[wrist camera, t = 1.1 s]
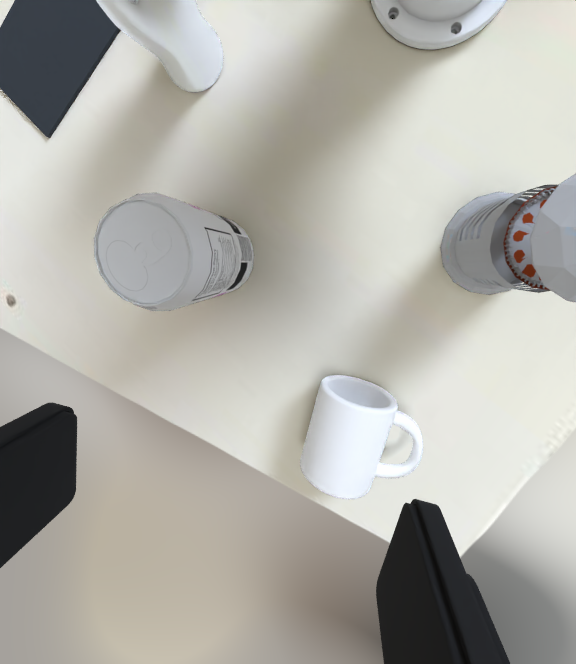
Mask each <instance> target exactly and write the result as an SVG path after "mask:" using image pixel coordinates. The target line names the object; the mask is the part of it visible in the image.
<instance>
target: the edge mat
mask: <svg viewBox="0 0 576 664" xmlns="http://www.w3.org/2000/svg"><path fill="white" fill-rule="evenodd" d="M119 31H120V29H119V28H118V27H116V26H115V25H114V24H113V23H112V22H111V21H110V20H109V19H108V18H107V17H106V16H105V15H104V14H103V13H102V12H101V11H100V10H99V9H98V8H97V7H96V6H95V5H94V4H93V3H92V2H91V1H90V0H15V1H14V3H13V5H12V7H11V9H10V11H9V12H8V14H7V16H6V18H5V20H4V22H3V23H2V25H1V27H0V88H1V89H2V91H3V92H4V93H5V94H6V95H7V96H8V97H9V98H10V99H11V100H12V101H13V102H14V103H15V104H16V105H17V106H18V107H19V108H20V109H21V110H22V111H23V113H24V114H25V115H26V116H27V117H28V118H29V119H30V120H31V121H32V122H33V123H34V124H35V125H36V126H37V127H38V128H39V129H40V130H41V131H42V132H43V133H44V135H45V136H46V137H48V138H50V137H51V135H52V134H53V132H54V131H55V129H56V127H57V126H58V124H59V123H60V121H61V120H62V118H63V117H64V115H65V114H66V112H67V111H68V109H69V108H70V106H71V104H72V103H73V101H74V100H75V98H76V97H77V95H78V94H79V92H80V91H81V89H82V88H83V86H84V85H85V83H86V81H87V80H88V78H89V77H90V75H91V74H92V72H93V71H94V69H95V68H96V66H97V65H98V63H99V62H100V60H101V59H102V57H103V55H104V54H105V52H106V51H107V49H108V48H109V46H110V45H111V43H112V42H113V40H114V39H115V37H116V36H117V34H118V32H119Z"/></svg>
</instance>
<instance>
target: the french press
mask: <svg viewBox="0 0 576 664" xmlns="http://www.w3.org/2000/svg"><path fill="white" fill-rule="evenodd" d="M537 188H547V189H543V190H533V189H536V188H533V189H530V190H527V191H524V192H521V193H518V194H512V193H503V192H495V193H492V194H488V195H484V196H480V197H477V198H475V199H474V200H472V201H471V202H469V203H468V204H467V205H465V206H464V207H462V208H461V209H459V210H458V211H457V213H456V214H455V216H454V217H453V218H452V220H451V221H450V223H449V224H448V225H447V227H446V229H445V233H444V237H443V240H442V244H441V253H442V260H443V266H444V268H445V270H446V271H447V273H448V274H449V276H450V277H451V279H452V280H453V282H455V283H456V284H458V285H460V286H461V287H463V288H464V289H466V290H468V291H469V292H475V293H481V294H488V295H490V294H495V293H499V292H504V291H509V290H511V289H518V290H523V289H530V290H524V291H531V292H538V293H539V292H546V291H553V292H554V293H556V294H557V295H559V296H560V297H562V298H564V299H565V300H567V301H572V302H576V174H574V175H573V176H571V177H570V178H568V179H567V180H565V181H564V182H562V183H561V184H559V185H543V186H540V187H537ZM525 192H539V193H525ZM521 195H532V196H533V197H528V196H521ZM522 282H524V284H521V283H522ZM521 285H528V286H521ZM516 286H521V287H531V288H521V287H516ZM533 288H538V289H533Z"/></svg>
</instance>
